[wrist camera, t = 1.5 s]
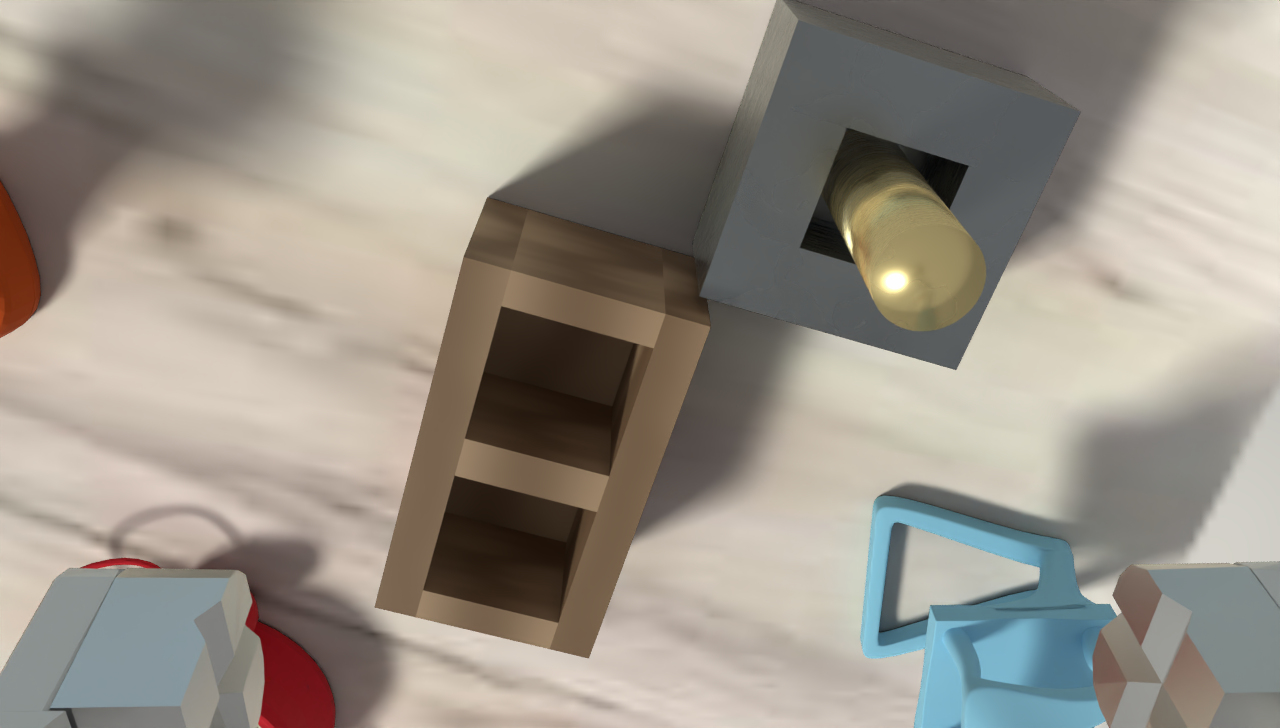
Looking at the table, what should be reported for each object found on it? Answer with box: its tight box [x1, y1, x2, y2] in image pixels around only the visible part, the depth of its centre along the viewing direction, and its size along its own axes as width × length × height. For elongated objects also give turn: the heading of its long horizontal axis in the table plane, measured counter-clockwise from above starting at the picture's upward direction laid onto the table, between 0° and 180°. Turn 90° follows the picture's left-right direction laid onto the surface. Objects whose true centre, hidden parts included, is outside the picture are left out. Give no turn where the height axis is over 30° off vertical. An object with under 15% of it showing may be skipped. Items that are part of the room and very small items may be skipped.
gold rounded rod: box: [821, 129, 986, 331], centre depth 34 cm, size 3×3×10 cm
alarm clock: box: [81, 558, 335, 728], centre depth 47 cm, size 10×6×15 cm
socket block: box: [692, 0, 1080, 370], centre depth 37 cm, size 9×9×5 cm
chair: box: [861, 496, 1117, 728], centre depth 41 cm, size 8×8×12 cm
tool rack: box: [375, 197, 711, 658], centre depth 40 cm, size 8×14×6 cm, turn 163°
